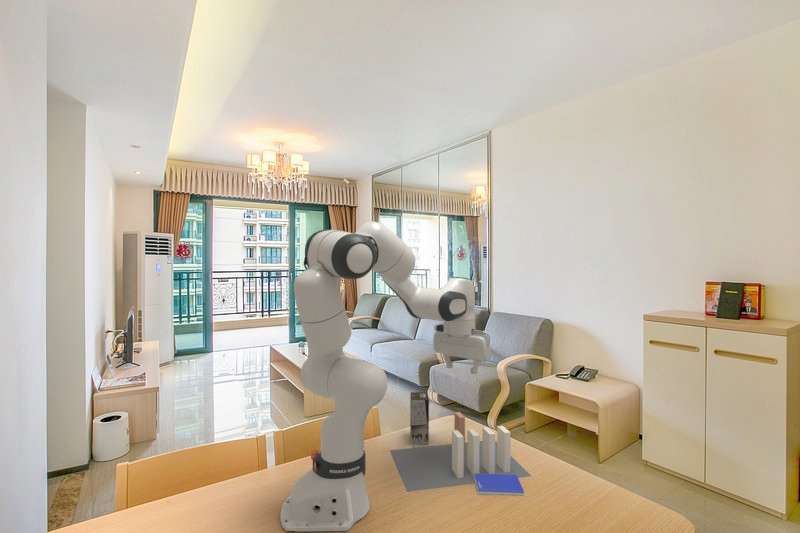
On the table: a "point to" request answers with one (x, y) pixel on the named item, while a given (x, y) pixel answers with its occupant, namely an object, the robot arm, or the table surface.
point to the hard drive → (498, 484)
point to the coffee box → (419, 418)
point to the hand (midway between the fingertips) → (461, 370)
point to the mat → (441, 467)
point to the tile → (460, 424)
